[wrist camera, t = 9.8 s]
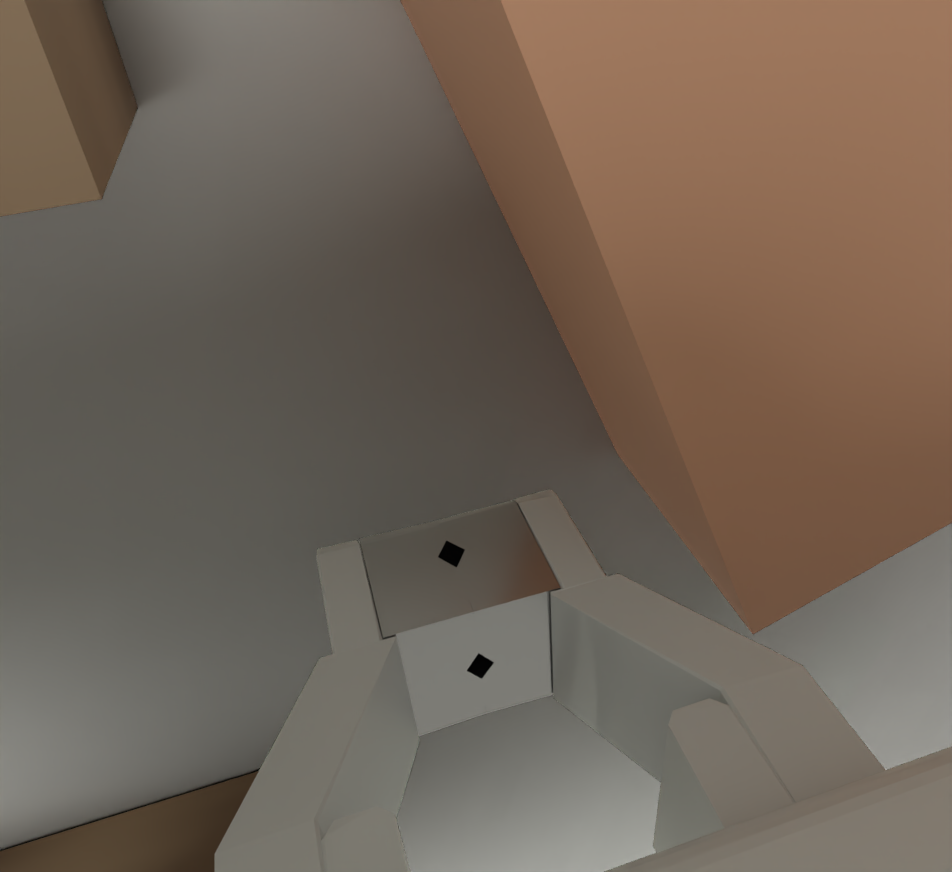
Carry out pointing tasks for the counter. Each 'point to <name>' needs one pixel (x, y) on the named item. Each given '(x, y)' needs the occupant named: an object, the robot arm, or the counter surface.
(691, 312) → the terracotta block
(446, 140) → the counter surface
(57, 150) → the walnut cubby
